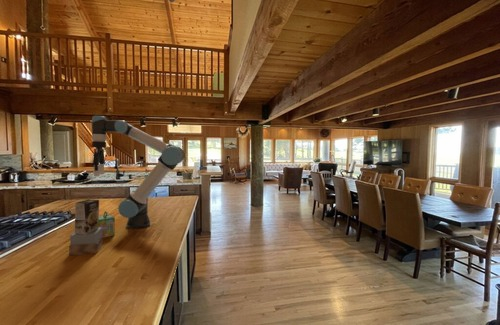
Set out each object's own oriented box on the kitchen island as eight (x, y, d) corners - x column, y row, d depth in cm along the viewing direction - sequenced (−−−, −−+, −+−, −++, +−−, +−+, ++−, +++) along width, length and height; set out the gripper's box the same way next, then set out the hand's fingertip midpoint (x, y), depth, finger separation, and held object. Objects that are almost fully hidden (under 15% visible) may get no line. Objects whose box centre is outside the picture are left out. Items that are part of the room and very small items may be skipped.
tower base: (102, 244, 134) (102, 235, 133) (97, 253, 122) (97, 243, 122) (77, 247, 129) (77, 238, 129) (69, 256, 118) (69, 246, 118)
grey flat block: (102, 236, 133) (102, 227, 133) (95, 243, 122) (95, 234, 122) (79, 237, 130) (79, 228, 130) (70, 245, 119) (70, 235, 119)
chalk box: (93, 235, 146) (93, 211, 145) (110, 232, 153) (110, 209, 152) (97, 239, 140) (97, 214, 139) (115, 235, 146) (115, 212, 146)
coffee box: (86, 234, 120) (86, 203, 119) (74, 233, 121) (74, 202, 120) (99, 229, 129) (99, 199, 129) (88, 228, 130) (88, 198, 129)
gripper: (96, 141, 159) (96, 173, 160) (86, 140, 136) (86, 177, 136) (109, 142, 161) (109, 173, 162) (101, 140, 138) (101, 177, 139)
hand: (99, 175), depth 149 cm, fingers open, 13 cm apart
